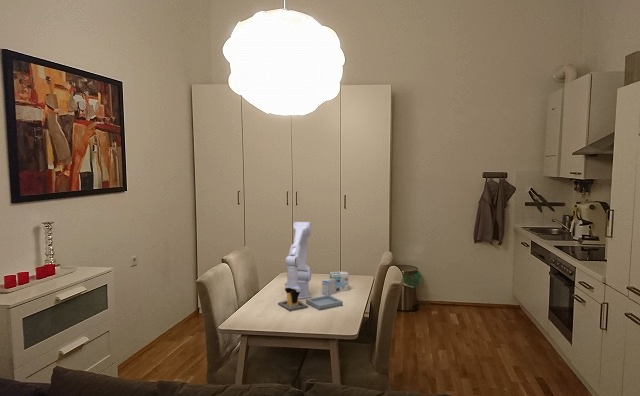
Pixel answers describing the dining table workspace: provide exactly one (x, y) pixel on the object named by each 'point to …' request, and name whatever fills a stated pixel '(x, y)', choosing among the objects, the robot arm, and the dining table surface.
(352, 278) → the dining table surface
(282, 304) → the holder frame
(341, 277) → the white printed carton
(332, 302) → the parts tray
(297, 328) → the dining table surface
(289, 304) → the block
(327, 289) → the medicine box
